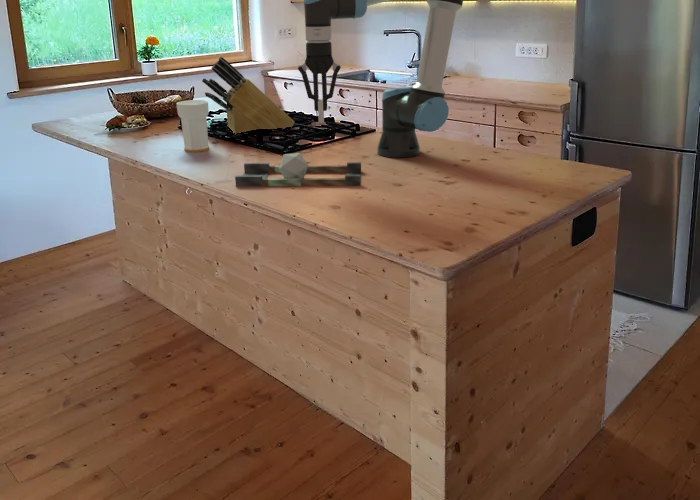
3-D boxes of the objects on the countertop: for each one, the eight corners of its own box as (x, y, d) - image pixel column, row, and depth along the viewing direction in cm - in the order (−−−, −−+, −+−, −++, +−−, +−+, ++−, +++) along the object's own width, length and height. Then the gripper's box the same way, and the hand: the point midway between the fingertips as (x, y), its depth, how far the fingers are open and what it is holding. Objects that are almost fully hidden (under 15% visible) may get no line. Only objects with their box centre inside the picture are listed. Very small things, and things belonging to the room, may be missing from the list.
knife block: (205, 133, 287) (198, 55, 276) (286, 125, 300) (283, 51, 289) (212, 138, 277) (205, 58, 266) (295, 129, 290) (292, 53, 279)
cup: (218, 147, 261) (214, 101, 255) (197, 154, 252) (192, 106, 246) (196, 144, 267) (192, 98, 260) (174, 150, 258) (169, 103, 251)
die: (301, 186, 213) (315, 157, 214) (275, 173, 211) (289, 144, 212) (297, 189, 221) (310, 161, 222) (272, 176, 220) (285, 148, 221)
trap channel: (361, 171, 227) (361, 162, 225) (360, 185, 211) (360, 176, 210) (245, 171, 228) (244, 162, 227) (235, 186, 212) (235, 176, 211)
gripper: (295, 42, 201) (298, 124, 209) (340, 42, 200) (342, 123, 209) (297, 40, 208) (301, 119, 216) (341, 39, 207) (343, 118, 216)
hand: (321, 121), depth 213 cm, fingers closed
